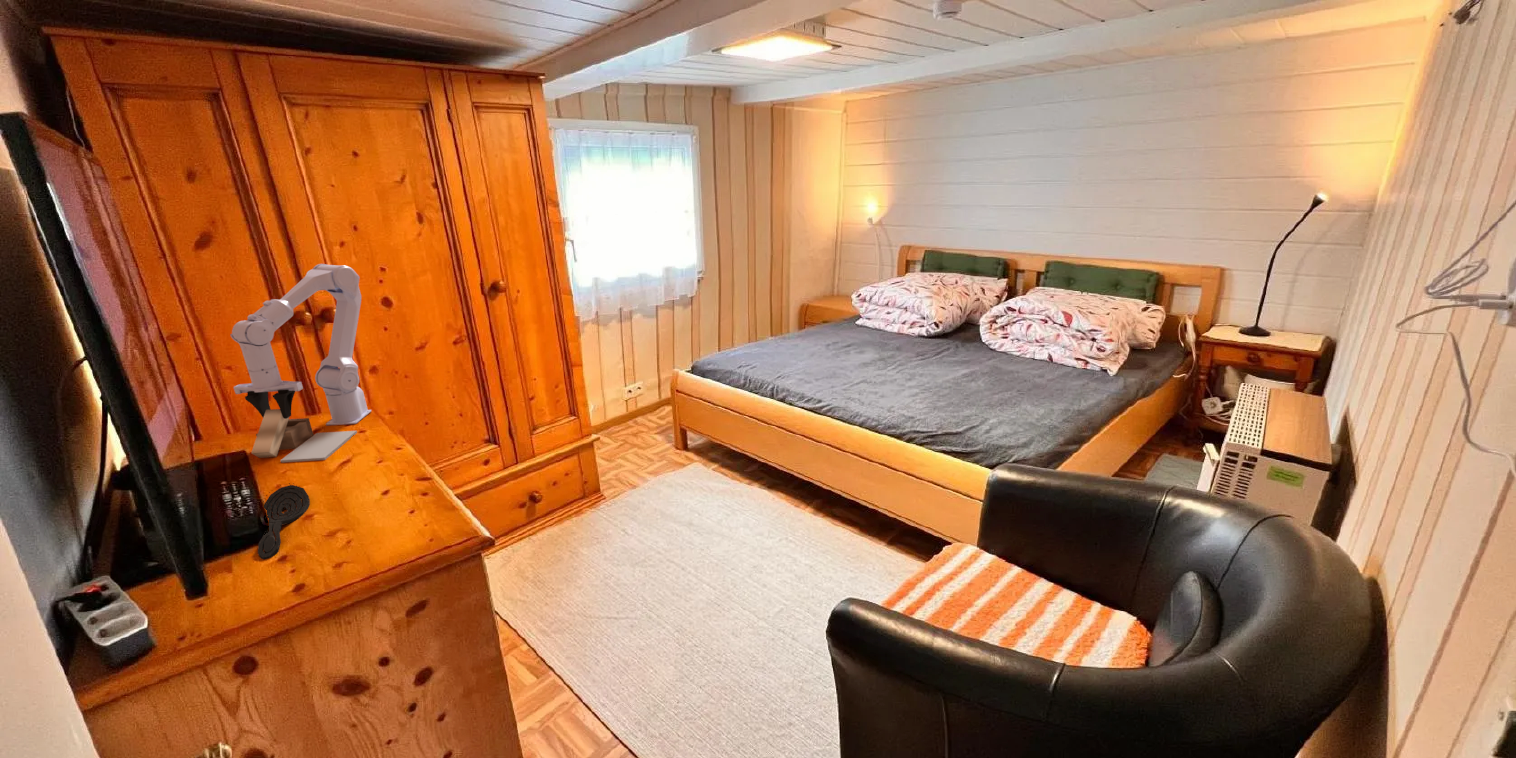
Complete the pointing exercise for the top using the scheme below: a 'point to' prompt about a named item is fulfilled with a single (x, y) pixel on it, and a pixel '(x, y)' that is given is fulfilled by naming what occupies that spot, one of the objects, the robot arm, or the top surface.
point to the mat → (319, 446)
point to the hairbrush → (281, 516)
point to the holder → (296, 433)
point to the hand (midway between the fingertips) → (277, 417)
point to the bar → (270, 434)
